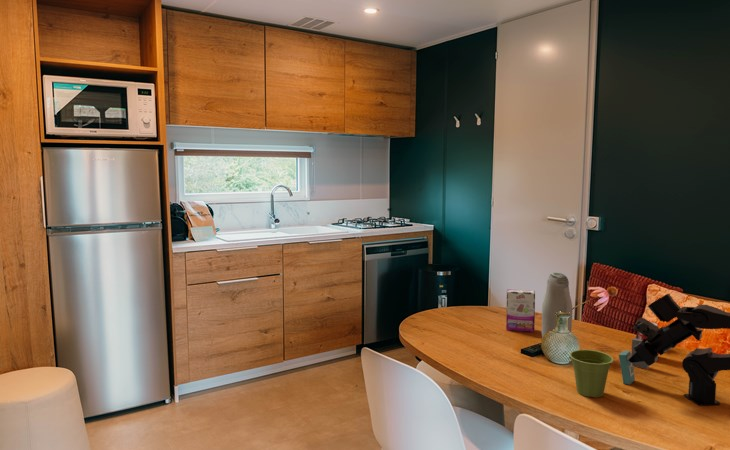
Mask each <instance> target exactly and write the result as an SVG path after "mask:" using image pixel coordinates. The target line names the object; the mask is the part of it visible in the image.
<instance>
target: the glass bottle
mask: <svg viewBox="0 0 730 450" xmlns="http://www.w3.org/2000/svg"><path fill="white" fill-rule="evenodd" d="M569 282H570V281H569V278H568V277H567V276H566V275H565V274H564V273H562V272H552V273H550V274H549V275H548V276H547V279H546V288H545V293H544V296H543V300H542V304H541V337H542V339H543V336H544V335H545V334H546V333H548V332H549V331H552V330H553V329H555V327H556V315H555V312H557V311H561V312H570V317H569V318H568V330H569V331H570V332H571V333H572V326H573V325H572V324H573V301H572V298H571V295H570V283H569ZM571 309H572V310H571Z"/></svg>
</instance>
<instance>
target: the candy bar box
mask: <svg viewBox="0 0 730 450" xmlns="http://www.w3.org/2000/svg"><path fill="white" fill-rule="evenodd" d="M535 310H536V291H535V290H529V289H528V290H527V289H509V288H508V289H507V290H506V318H505V319H506V320H505V321H506V327H505V330H506V331H511V332H524V333H535V320H536V319H535V317H536V316H535V315H536V311H535Z"/></svg>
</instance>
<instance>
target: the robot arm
mask: <svg viewBox="0 0 730 450" xmlns="http://www.w3.org/2000/svg"><path fill="white" fill-rule="evenodd" d="M647 308H649V310H650V311H651V312H652V313H653V314H654V315H655V316H656V318H657V319H658V320H659V321H660V322H663V323H668V322H670V321H672V320H673V321H672V322H670V323H668V324H667V325H665V326H661V327H659V326H658V327H659V328H658V327H657V326H655V325H654V324H653V323H654V322H653V323H651V322H652V321H649V320H648V319H646V318H644V317H640V318H638V319H637V321H636V322H635V324H633V327H632V329H633V330H634V331H636V332H640V333H641V334H643V335H644V336H646V337H647V338H645V339H643V340H642V342H640V343H639V344H638V345H636V346H635V347H634V350H635V351H636V353H635V354H634V355H633V356H632V357H631V358H630V359H629V361H630V362H631V363H634V362H645V363H646V364H647V365H648V366H649V367H650V366H651V365H653V364H655V363H656V362H657V361H658V358H659V355H660V356H662V355H664V354H665V353H666V352H667V351H669V350H671V349H674V348H676V347H677V345H679V344H681V343H682V342H684V341H685V340H687V339H689V338H691V337H694V338H695V339H696V341H698V342H699V341H700V340H702V338H703V331H704V330H722V329H725V330H726V329H728V330H730V312H727V311H725V310H723V309H720V308H718V307H716V306H715V307H714V306H711V305H708V304H698V305H696V306H695V307H694V306H682V307H680V305H679V304H678V303H677V302H676V301H675V300H674V299H673V297H672V296H671V294H670V293H666V294H665V295H663V296H661V297H659V298H657V299H656V300H654V301H653V302H651V303H650V304H648V305H647ZM675 318H676V319H675ZM674 319H675V320H674ZM657 352H658V353H657ZM681 362H682V363H681V367H682V369H683V370H684V373H686V374H687V375H688V379H689V380H688V393H684V394H683V396H684V397H685V398H687V399H688V400H690V401H691V402H693V403H695V404H696V405H698V406H716V405H717V406H718V405H721V402H720V401H718V400H716V395H717V394H716V393H717V392H716V391H717V383H716V381H715V378H716V377H717V375H718V373H719V372H721V371H730V353H723V354H722V353H716V352H713V348H712V347H706V348H697V347H696V348H694V350H692V351H690V352H688V353H687V354H686V356H685V358H684V359H682V361H681Z"/></svg>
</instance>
